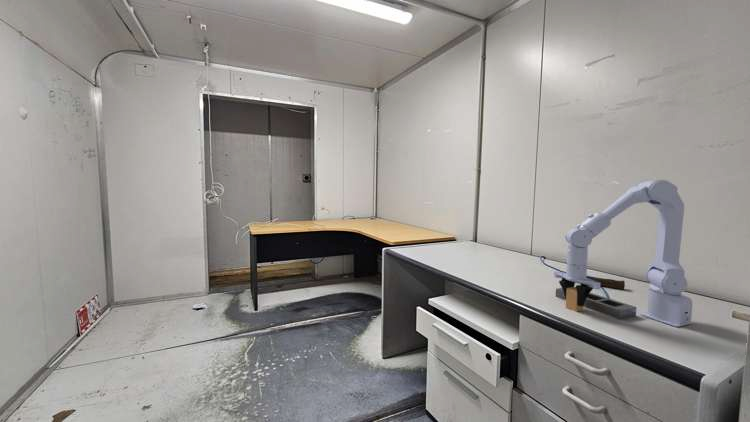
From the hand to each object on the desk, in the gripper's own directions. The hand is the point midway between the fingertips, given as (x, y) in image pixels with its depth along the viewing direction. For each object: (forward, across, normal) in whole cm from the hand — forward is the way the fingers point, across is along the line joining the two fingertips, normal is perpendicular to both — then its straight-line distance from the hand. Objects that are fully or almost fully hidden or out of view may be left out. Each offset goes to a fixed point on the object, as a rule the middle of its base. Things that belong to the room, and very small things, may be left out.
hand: (574, 303), depth 102 cm
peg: (+2, 0, 0) cm, 2 cm away
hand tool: (+2, -15, +34) cm, 37 cm away
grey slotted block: (+2, 0, +9) cm, 9 cm away
